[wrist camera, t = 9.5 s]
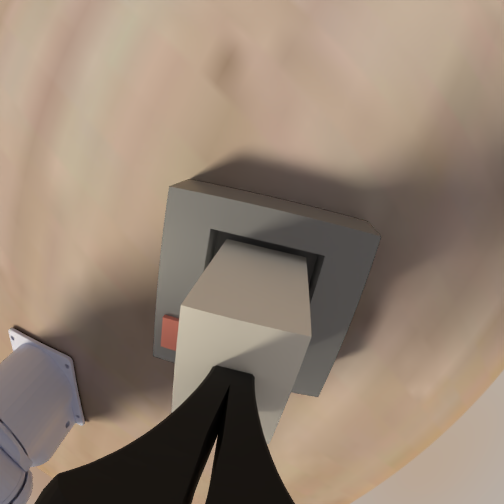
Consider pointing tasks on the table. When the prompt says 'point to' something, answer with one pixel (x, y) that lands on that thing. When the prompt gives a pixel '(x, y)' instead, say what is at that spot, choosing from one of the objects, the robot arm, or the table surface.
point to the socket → (272, 237)
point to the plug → (246, 325)
